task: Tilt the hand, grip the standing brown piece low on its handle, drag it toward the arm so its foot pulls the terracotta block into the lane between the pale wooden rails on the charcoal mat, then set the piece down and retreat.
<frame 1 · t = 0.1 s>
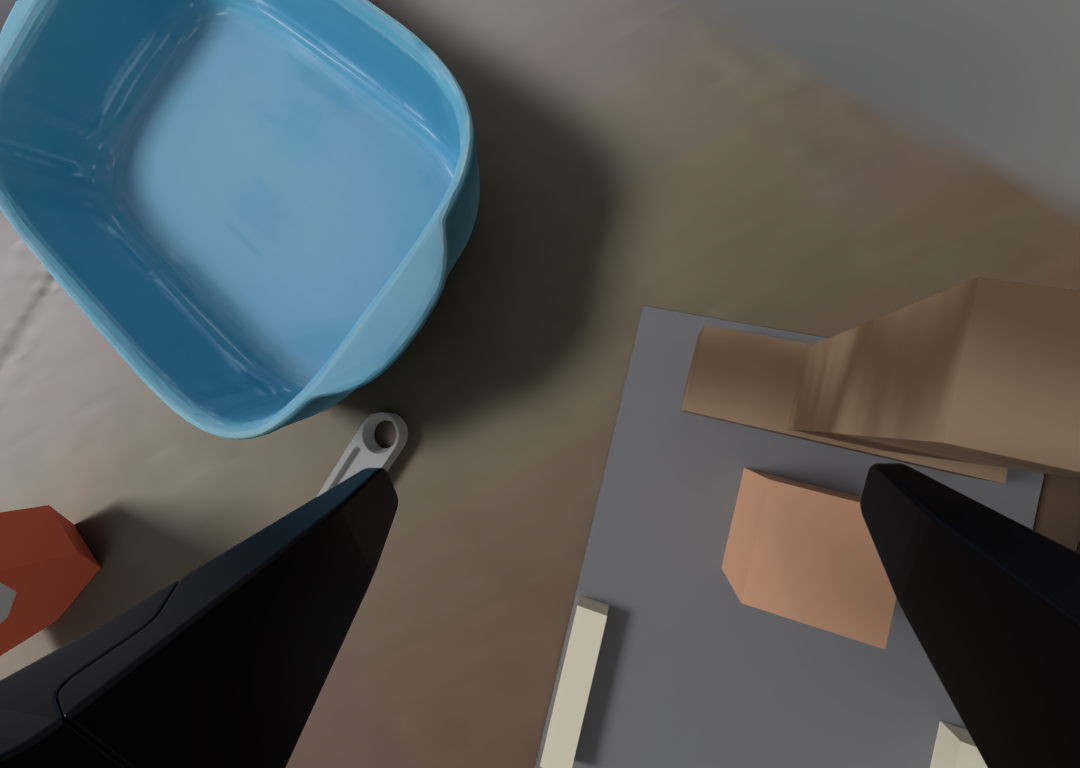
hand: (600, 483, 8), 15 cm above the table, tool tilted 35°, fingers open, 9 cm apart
terracotta block: (788, 533, 20), resting on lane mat
french fries container: (70, 572, 31), on the table
adjustable wrench: (305, 589, 27), on the table
brown piece: (818, 399, 20), resting on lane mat
casserole dish: (282, 197, 29), on the table
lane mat: (739, 735, 20), on the table
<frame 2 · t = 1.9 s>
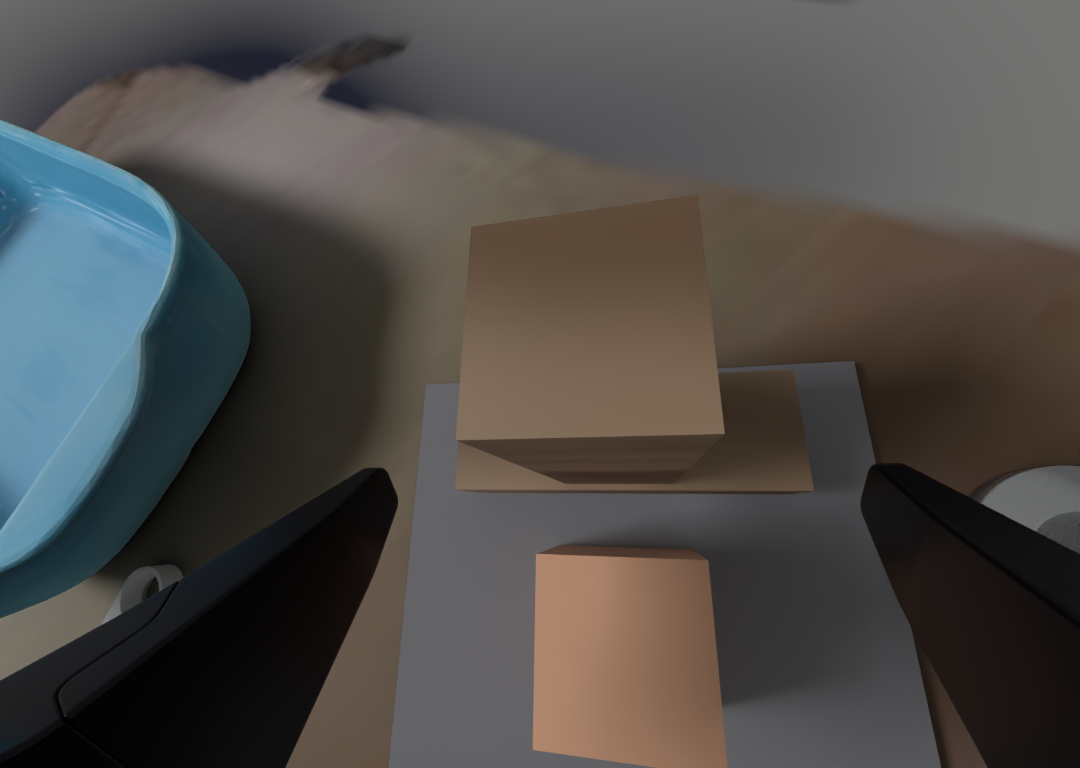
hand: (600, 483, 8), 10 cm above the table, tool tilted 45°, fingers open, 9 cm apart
terracotta block: (626, 620, 15), resting on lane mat
brown piece: (619, 443, 17), resting on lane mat
grey metal stick: (1067, 563, 14), on the table
casserole dish: (79, 359, 28), on the table
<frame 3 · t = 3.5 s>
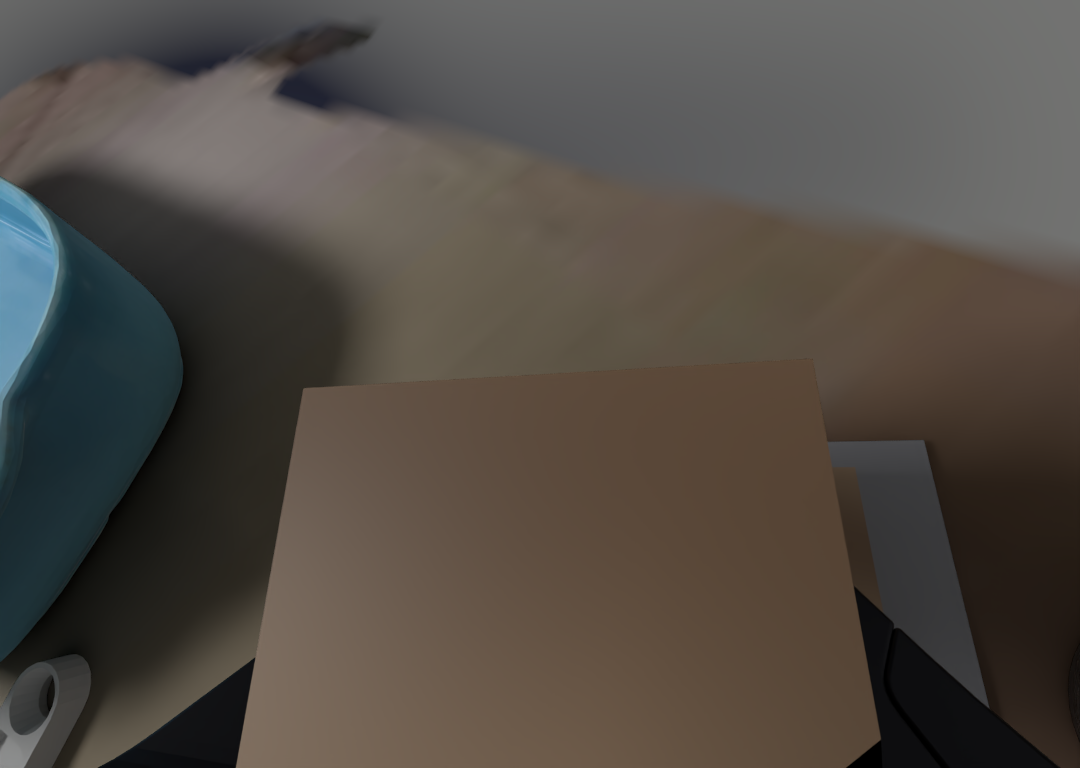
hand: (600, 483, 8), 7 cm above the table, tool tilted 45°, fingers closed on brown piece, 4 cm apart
brown piece: (619, 538, 14), resting on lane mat, touching gripper
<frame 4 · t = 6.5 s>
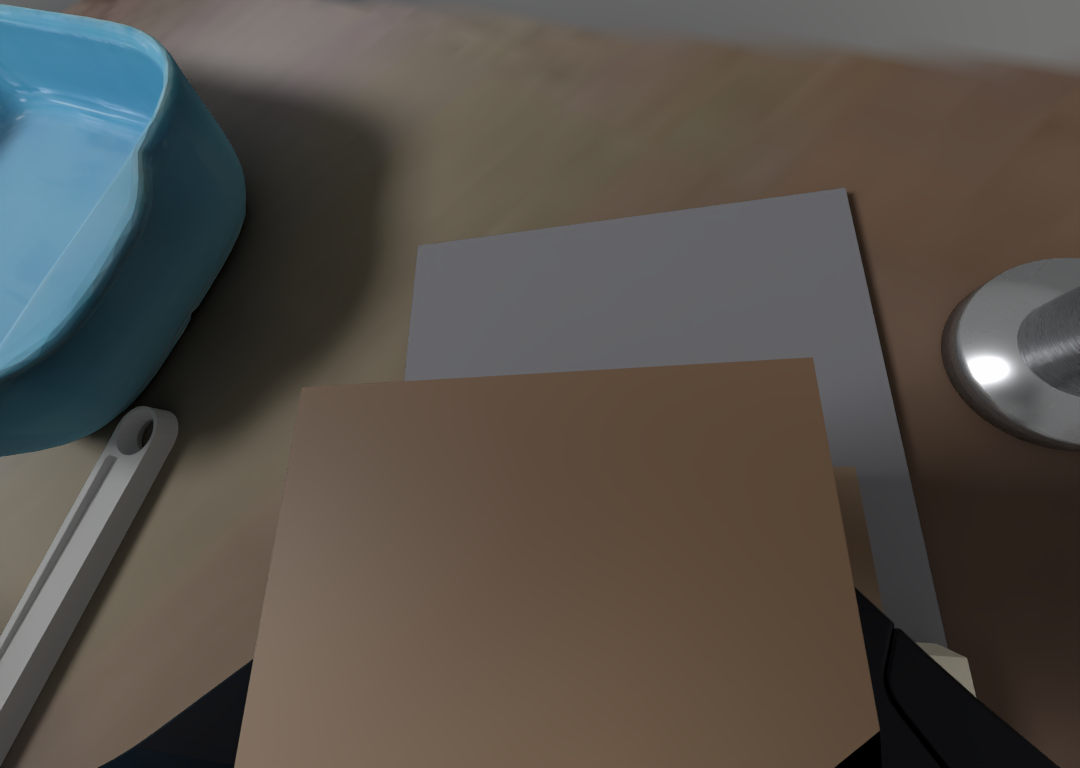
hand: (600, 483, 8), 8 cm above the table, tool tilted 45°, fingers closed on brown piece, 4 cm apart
adjustable wrench: (54, 678, 19), on the table
brown piece: (619, 538, 14), point 2 cm above the table, touching gripper, terracotta block
grey metal stick: (1053, 357, 14), on the table
casserole dish: (73, 254, 28), on the table
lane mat: (630, 760, 13), on the table
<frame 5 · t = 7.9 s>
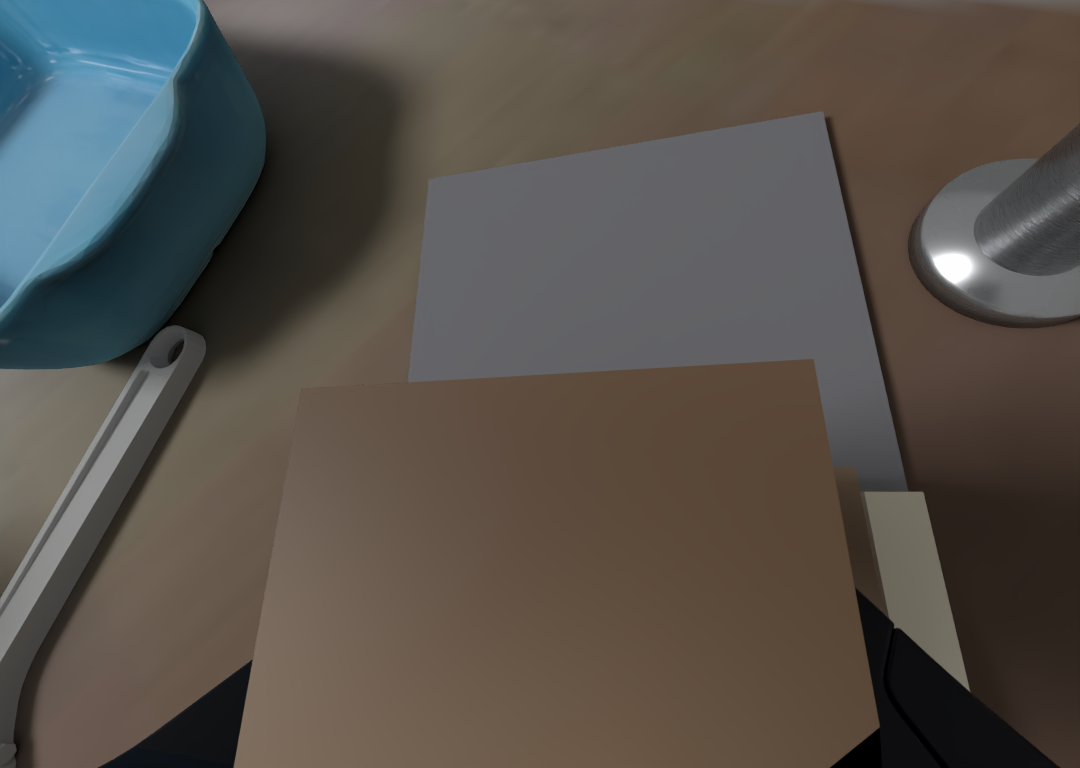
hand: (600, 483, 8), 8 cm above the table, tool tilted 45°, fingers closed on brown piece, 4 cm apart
adjustable wrench: (88, 573, 21), on the table
brown piece: (619, 538, 14), point 2 cm above the table, touching gripper, terracotta block
grey metal stick: (1008, 250, 15), on the table
casserole dish: (100, 203, 29), on the table
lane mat: (624, 612, 15), on the table
when the fingers open (7 cm above the table, at t = 8.8 s): brown piece stays where it is, resting on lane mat.
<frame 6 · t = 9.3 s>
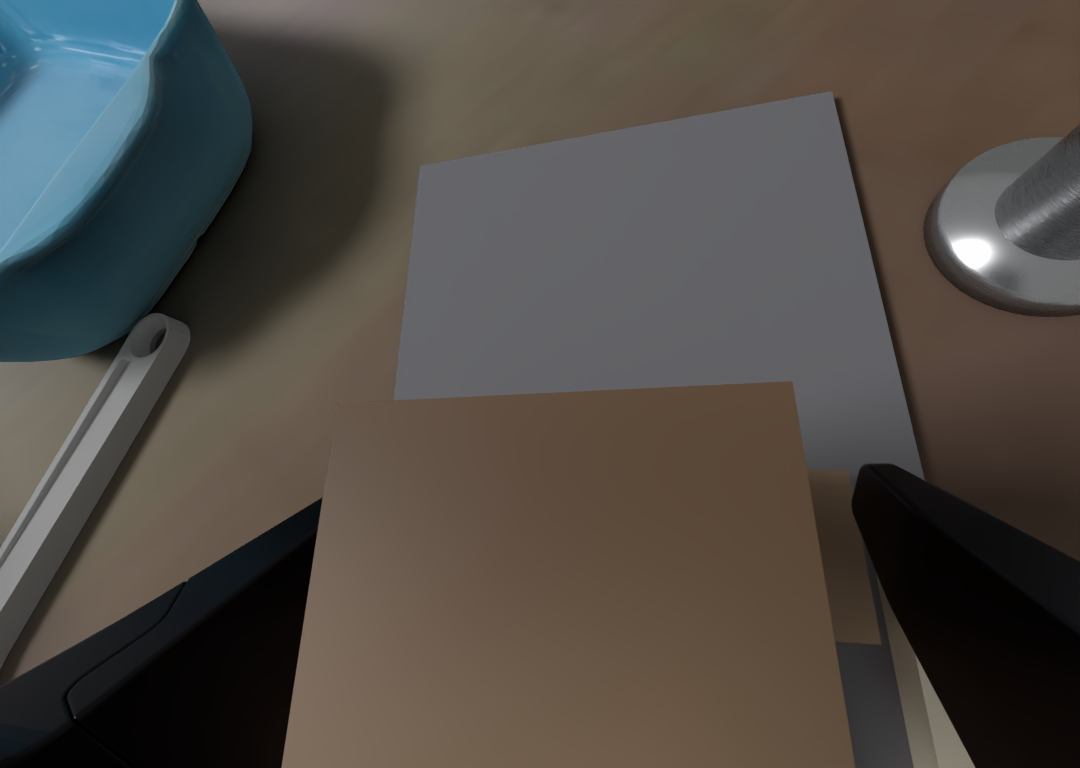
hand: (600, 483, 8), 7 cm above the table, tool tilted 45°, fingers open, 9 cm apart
adjustable wrench: (64, 570, 20), on the table
brown piece: (620, 538, 14), resting on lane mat
grey metal stick: (1030, 234, 14), on the table
casserole dish: (83, 193, 28), on the table
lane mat: (623, 619, 14), on the table
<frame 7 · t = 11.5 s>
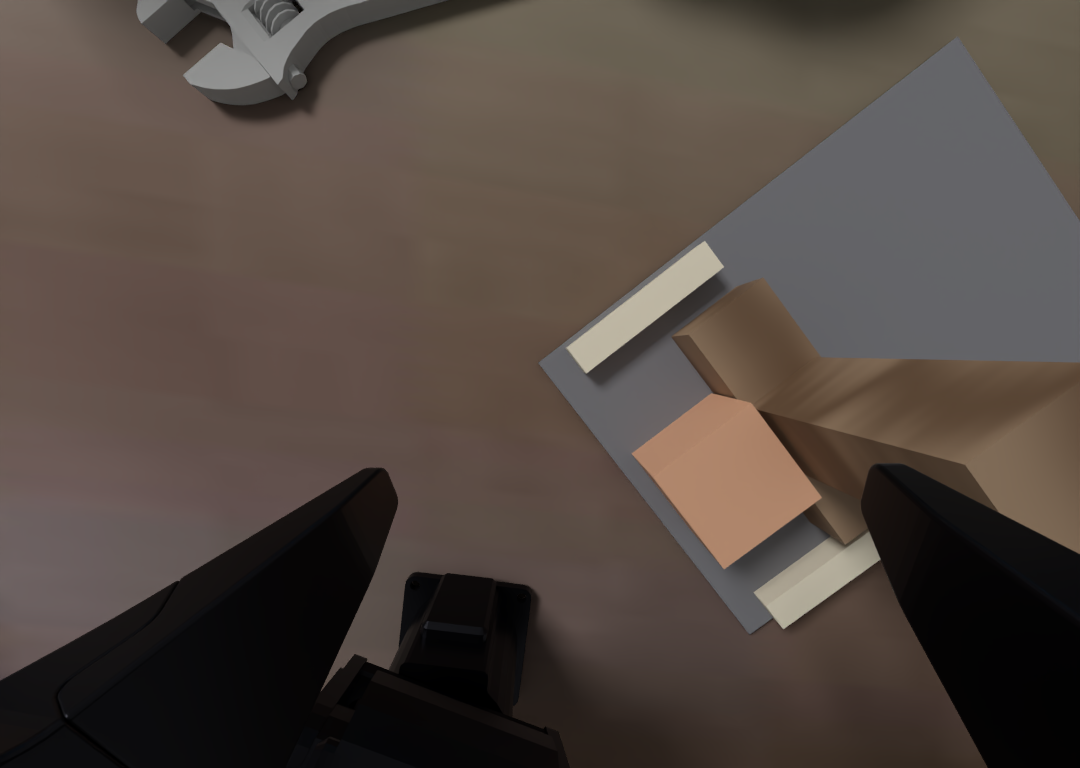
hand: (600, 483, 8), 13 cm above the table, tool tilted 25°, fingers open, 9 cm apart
terracotta block: (700, 462, 21), resting on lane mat
adjustable wrench: (423, 8, 21), on the table
brown piece: (774, 407, 21), resting on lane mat
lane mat: (730, 435, 22), on the table
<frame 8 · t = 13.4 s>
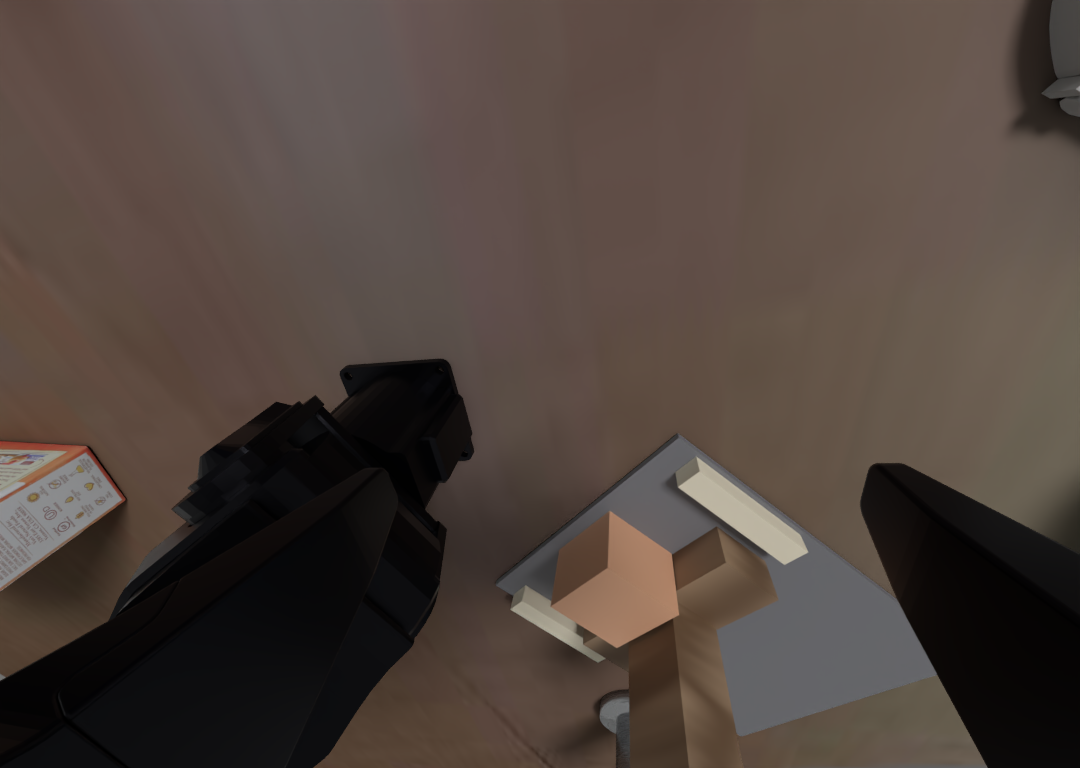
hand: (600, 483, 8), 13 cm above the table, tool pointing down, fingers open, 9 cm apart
terracotta block: (613, 551, 27), resting on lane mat
brown piece: (667, 587, 28), resting on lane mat
cracker box: (46, 467, 34), on the table
grey metal stick: (635, 708, 36), on the table
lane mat: (638, 563, 28), on the table
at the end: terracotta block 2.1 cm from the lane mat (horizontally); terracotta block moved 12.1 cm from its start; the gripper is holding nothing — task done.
